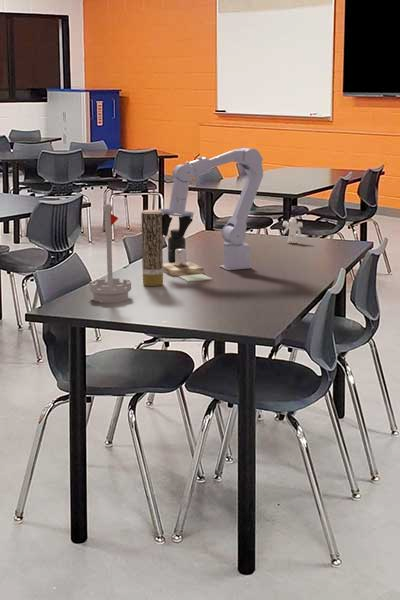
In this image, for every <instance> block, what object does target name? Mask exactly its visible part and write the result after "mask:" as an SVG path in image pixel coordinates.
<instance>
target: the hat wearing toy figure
mask: <svg viewBox="0 0 400 600" xmlns="http://www.w3.org/2000/svg"><path fill="white" fill-rule="evenodd" d="M300 217H301V215H299V214H298V215H295V216H291V217H290V219H289V220H284V221H283V223H282V227H284V230H283V232H282V234H283V235H285V234H287V232H288V237H287V242H288V241H292V242H293V241H297V242H298V240H297V235H298V237H301V235H302V232H301V228H303V222H302V221H297V220H298V219H299V218H300Z"/></svg>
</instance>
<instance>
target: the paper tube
mask: <svg viewBox="0 0 400 600" xmlns="http://www.w3.org/2000/svg"><path fill="white" fill-rule="evenodd" d="M140 219H141V251H142V252H141V253H142V254H141V255H142V256H141V258H142V260H141V261H142V285H143V286H145V287H160V286H162V285H163V283H164V272H163V264H164V261H163V260H164V259H163V255H164V254H163V235H162V212H161V210H159V209H144V210H143V209H142V210H141V218H140Z"/></svg>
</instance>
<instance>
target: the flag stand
mask: <svg viewBox="0 0 400 600" xmlns="http://www.w3.org/2000/svg"><path fill="white" fill-rule="evenodd" d="M102 210H103V212H104V213H105V234H106V235H105V236H106V239H105V241H106V263H107V264H106V265H107V267H106V268H107V271H106V272H107V281H106V279H105V278H102V277H101V278H97V279H96V280H91V281H90V282H89V291H90V292H91V293H92V300H93V299H94V300H93V301H95V300H96V301H95V302H97V301H102V302H101V303H119V302H124V301H126V300H129V292H130V291H131V290H132V282H131V280H130V279H127V278H124V279H123V280H122V281H120V278H119V277H113V254H112V253H113V252H112V250H113V249H112V226H113V225H114V224H115V222H116V221H118V220H119V217H118V216H116V215H114V214H113V213H112V212H113V205H112V204H110V203H106V204H104V206H103V208H102Z"/></svg>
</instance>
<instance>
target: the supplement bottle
mask: <svg viewBox="0 0 400 600" xmlns="http://www.w3.org/2000/svg"><path fill="white" fill-rule="evenodd" d="M169 231H170V233H169V237H168V239H167V261H168V262H169V263H175V249H186V246H187V245H186V243H187V242H186V238H185V237H184V236H183V237H180V236H178V232H179V228H178V229H171V230H169ZM186 250H187V249H186Z"/></svg>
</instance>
